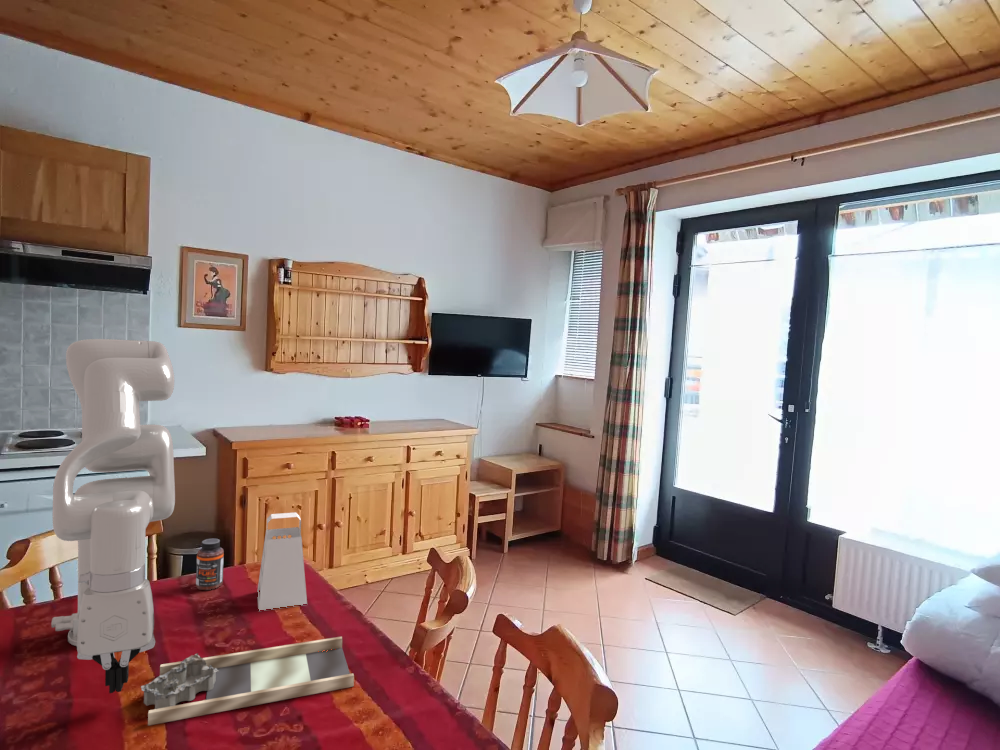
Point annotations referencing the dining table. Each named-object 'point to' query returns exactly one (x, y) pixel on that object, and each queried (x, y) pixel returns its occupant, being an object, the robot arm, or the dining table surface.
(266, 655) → the channel
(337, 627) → the dining table surface
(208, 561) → the supplement bottle
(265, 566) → the grater
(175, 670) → the egg carton
